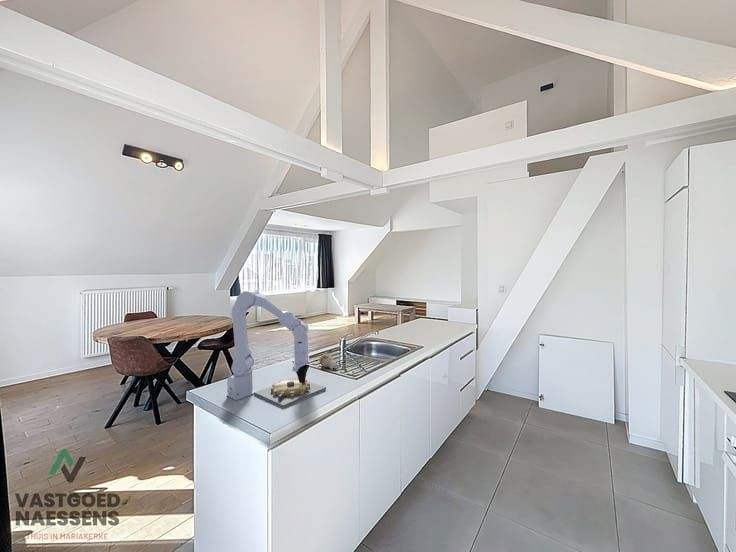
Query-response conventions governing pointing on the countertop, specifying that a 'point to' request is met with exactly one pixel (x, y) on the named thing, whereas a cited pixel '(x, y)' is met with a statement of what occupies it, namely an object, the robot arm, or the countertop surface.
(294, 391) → the sprocket
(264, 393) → the base board
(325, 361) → the beige rounded lump
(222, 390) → the countertop surface
